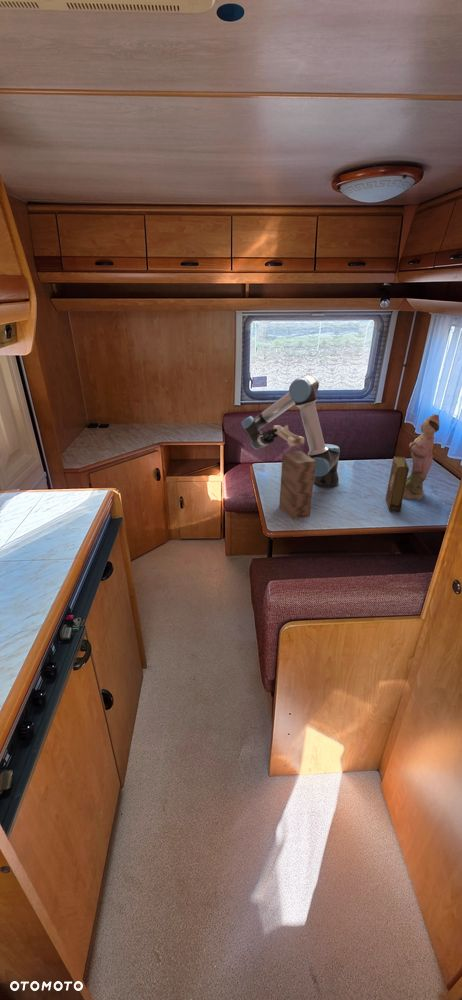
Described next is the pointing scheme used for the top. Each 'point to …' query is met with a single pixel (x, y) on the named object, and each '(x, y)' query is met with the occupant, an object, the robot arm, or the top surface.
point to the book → (397, 483)
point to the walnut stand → (297, 484)
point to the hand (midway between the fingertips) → (283, 428)
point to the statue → (421, 458)
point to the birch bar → (290, 437)
